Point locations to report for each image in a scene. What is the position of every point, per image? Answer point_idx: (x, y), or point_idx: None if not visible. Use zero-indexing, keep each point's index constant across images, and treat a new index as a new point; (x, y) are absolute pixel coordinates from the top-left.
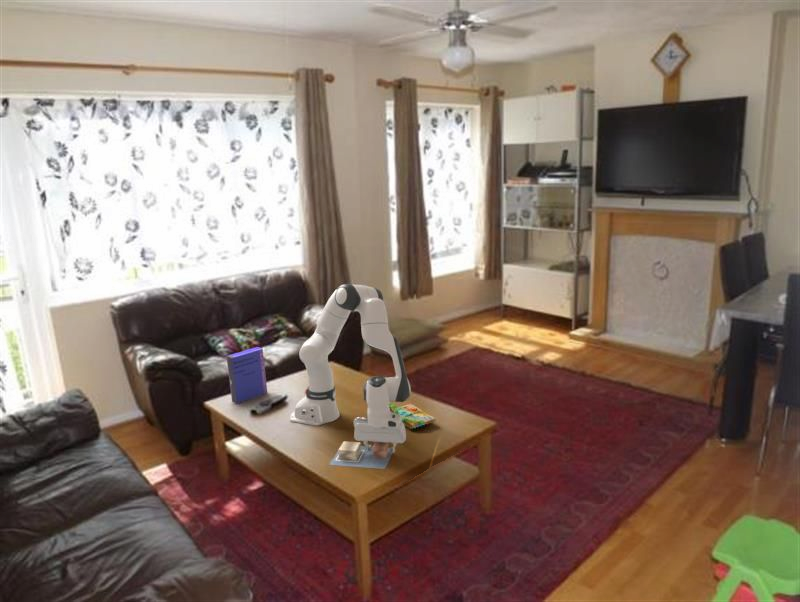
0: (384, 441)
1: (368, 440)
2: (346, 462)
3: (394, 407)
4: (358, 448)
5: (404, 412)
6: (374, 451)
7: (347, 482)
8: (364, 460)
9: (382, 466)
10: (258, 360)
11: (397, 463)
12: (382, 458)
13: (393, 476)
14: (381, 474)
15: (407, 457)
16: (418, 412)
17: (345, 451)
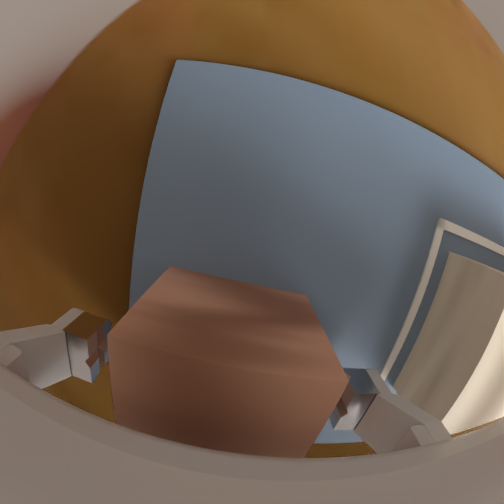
0: (88, 425)
1: (423, 454)
2: (497, 228)
3: None
4: (457, 366)
5: None
6: (302, 326)
7: (442, 7)
8: (391, 245)
9: (200, 98)
10: None
11: (77, 198)
12: (205, 268)
13: (125, 10)
14: (217, 20)
15: (32, 287)
16: None
17: None
